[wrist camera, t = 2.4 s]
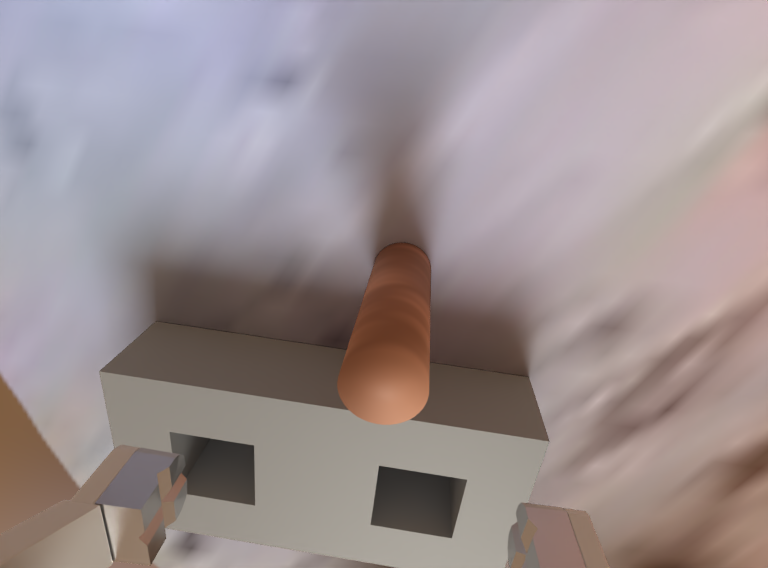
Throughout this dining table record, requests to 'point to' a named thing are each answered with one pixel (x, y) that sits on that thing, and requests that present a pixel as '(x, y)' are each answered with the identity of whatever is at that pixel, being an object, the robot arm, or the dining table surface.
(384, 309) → the peg
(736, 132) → the dining table surface
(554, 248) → the dining table surface
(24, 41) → the dining table surface
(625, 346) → the dining table surface
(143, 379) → the hole block
